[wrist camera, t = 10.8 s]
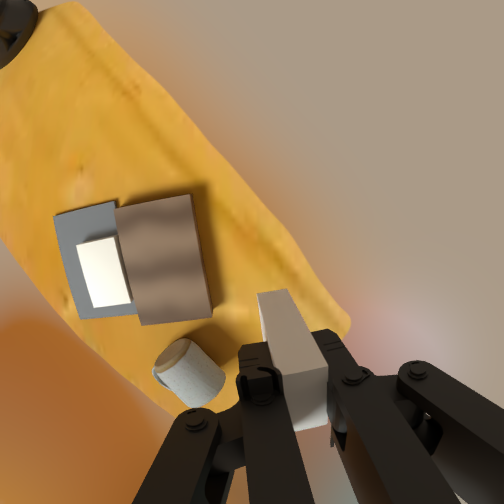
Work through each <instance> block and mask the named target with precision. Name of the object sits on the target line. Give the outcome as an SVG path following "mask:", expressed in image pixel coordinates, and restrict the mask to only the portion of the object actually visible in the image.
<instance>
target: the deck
mask: <svg viewBox="0 0 504 504" xmlns="http://www.w3.org/2000/svg"><path fill="white" fill-rule="evenodd" d="M113 210H114V216H115V221H116V227H117V232H118V236H119V241H120V246H121V250H122V255H123V259H124V263H125V268H126V272H127V276H128V280H129V284H130V287H131V291H132V295H133V298H134V302H135V306H136V309H137V312H138V316H139V319H140V322H141V326H143V325H153V324H162V323H171V322H180V321H188V320H196V319H204V318H211V317H212V314H213V307H212V302H211V297H210V292H209V287H208V282H207V277H206V272H205V266H204V261H203V255H202V250H201V244H200V238H199V233H198V227H197V221H196V215H195V209H194V202H193V196H192V194H186V195H180V196H175V197H169V198H164V199H159V200H154V201H148V202H143V203H139V204H134V205H129V206H124V207H120V208H116V209H113Z"/></svg>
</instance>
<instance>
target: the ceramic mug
mask: <svg viewBox="0 0 504 504" xmlns="http://www.w3.org/2000/svg"><path fill="white" fill-rule="evenodd" d="M152 374H153V376H154V377H155V379H156V380H157V381H158V382H159V383H160V384H161V385H162V386H164V387H165V388H167V389H169V390H171V391H173V392H174V393H175V394H176V395H177V396H178V397H179V398H180V399H181V400H182V401H183V402H184V403H185V404H186V405H187V406H188V407H191V408H198V407H201V406H203V405H205V404H207V403H208V402H210V401H211V400H212V399H213V398H215V397H216V396H217V394H218V393H219V392H220V390H221V389H222V387H223V385H224V383H225V379H226V376H225V373H224V371H223V370H222V369H221V368H220V367H218V366H217V365H216V363H215V362H214V361H213V360H211V359H210V358H209V357H208V356H207V355H206V354H205V353H204V352H203V350H202V349H201V348H200V347H199V346H198V345H197V344H196V343H194V342H193V341H192V340H190V339H188V338H182V339H179V340H177V341H175V342H174V343H172V344H171V345H170V346H168V347H167V348H166V349H165V350H164V351H163V352H162V353H161V354H160V355H159V357H158V358H157V360H156V362H155V365H154V367H153V369H152Z"/></svg>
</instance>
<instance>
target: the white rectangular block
mask: <svg viewBox="0 0 504 504" xmlns="http://www.w3.org/2000/svg"><path fill="white" fill-rule="evenodd" d="M76 247H77V251H78V255H79V259H80V263H81V267H82V270H83V274H84V277H85V281H86V284H87V288H88V291H89V294H90V297H91V300H92V303H93V306H94V308H96V307H104V306H112V305H119V304H127V303H131V302H132V301H133V299H134V298H133V295H132V291H131V287H130V284H129V280H128V276H127V272H126V268H125V263H124V259H123V255H122V250H121V246H120V241H119V236H118V235H114V236H109V237H104V238H100V239H95V240H91V241H86V242H82V243H80V244H78V245H76Z"/></svg>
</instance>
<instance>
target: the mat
mask: <svg viewBox="0 0 504 504" xmlns="http://www.w3.org/2000/svg"><path fill="white" fill-rule="evenodd" d="M116 208H117V207H116V201H112V202H108V203H104V204H99V205H95V206H91V207H87V208H83V209H79V210H75V211H72V212H68V213H64V214H60V215H57V216H53V219H54V225H55V230H56V234H57V239H58V244H59V248H60V252H61V256H62V260H63V264H64V268H65V272H66V276H67V279H68V283H69V286H70V289H71V293H72V296H73V299H74V302H75V305H76V308H77V311H78V314H79V317H80V319H91V318H102V317H113V316H123V315H132V314H138V312H137V309H136V306H135V302H134V299H133V301H132V302H131V303H127V304H119V305H112V306H104V307H96V308H94V306H93V303H92V300H91V297H90V294H89V291H88V288H87V284H86V281H85V277H84V274H83V270H82V267H81V263H80V259H79V255H78V251H77V247H76V245H78V244H80V243H82V242H86V241H91V240H95V239H100V238H104V237H109V236H114V235H118V232H117V227H116V221H115V216H114V210H113V209H116Z"/></svg>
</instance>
